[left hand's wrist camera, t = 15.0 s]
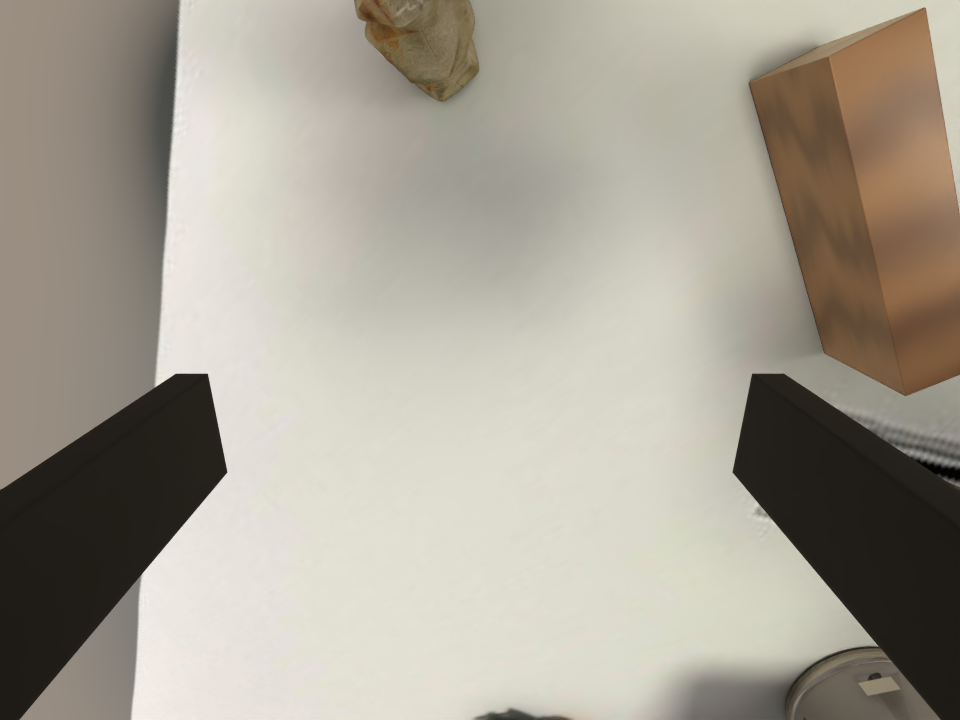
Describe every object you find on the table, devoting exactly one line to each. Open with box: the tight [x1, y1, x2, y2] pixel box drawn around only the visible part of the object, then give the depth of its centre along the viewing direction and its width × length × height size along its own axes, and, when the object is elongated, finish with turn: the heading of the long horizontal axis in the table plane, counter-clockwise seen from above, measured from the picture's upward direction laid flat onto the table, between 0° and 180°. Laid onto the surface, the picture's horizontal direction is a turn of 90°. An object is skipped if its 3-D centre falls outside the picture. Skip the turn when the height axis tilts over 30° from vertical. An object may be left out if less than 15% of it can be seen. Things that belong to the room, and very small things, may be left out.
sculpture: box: [354, 0, 479, 101], centre depth 28 cm, size 6×7×15 cm
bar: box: [750, 8, 960, 396], centre depth 35 cm, size 23×5×9 cm, turn 26°
